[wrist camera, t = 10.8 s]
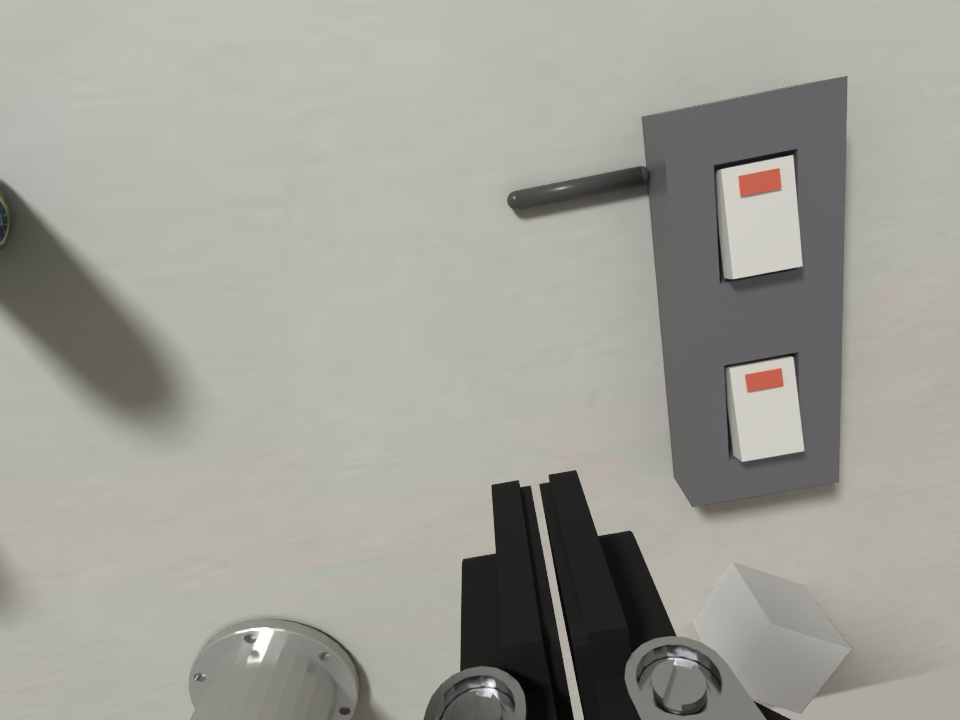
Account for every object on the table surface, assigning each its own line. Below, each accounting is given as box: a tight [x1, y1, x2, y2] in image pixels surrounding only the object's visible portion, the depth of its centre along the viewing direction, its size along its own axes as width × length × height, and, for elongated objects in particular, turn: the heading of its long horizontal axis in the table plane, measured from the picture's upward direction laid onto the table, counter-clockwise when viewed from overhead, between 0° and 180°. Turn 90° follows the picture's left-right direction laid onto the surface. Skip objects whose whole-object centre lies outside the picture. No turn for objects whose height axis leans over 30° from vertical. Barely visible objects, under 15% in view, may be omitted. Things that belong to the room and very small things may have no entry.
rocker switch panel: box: [507, 76, 847, 507], centre depth 35 cm, size 23×17×4 cm
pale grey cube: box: [692, 562, 851, 713], centre depth 41 cm, size 6×6×6 cm
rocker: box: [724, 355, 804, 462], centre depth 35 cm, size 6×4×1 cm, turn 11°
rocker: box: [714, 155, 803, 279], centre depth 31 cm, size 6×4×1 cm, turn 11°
